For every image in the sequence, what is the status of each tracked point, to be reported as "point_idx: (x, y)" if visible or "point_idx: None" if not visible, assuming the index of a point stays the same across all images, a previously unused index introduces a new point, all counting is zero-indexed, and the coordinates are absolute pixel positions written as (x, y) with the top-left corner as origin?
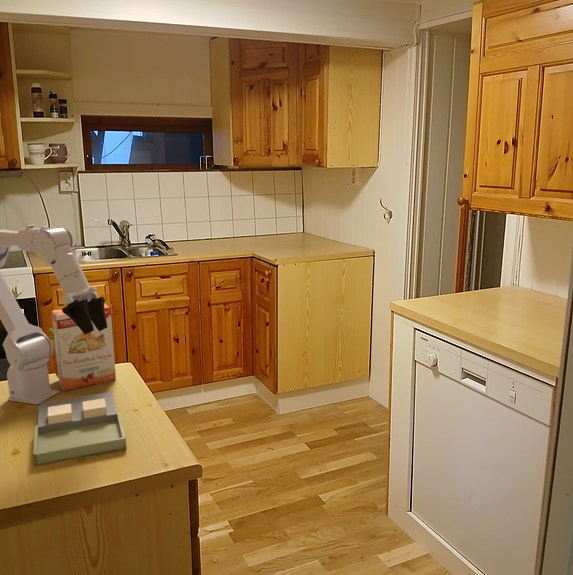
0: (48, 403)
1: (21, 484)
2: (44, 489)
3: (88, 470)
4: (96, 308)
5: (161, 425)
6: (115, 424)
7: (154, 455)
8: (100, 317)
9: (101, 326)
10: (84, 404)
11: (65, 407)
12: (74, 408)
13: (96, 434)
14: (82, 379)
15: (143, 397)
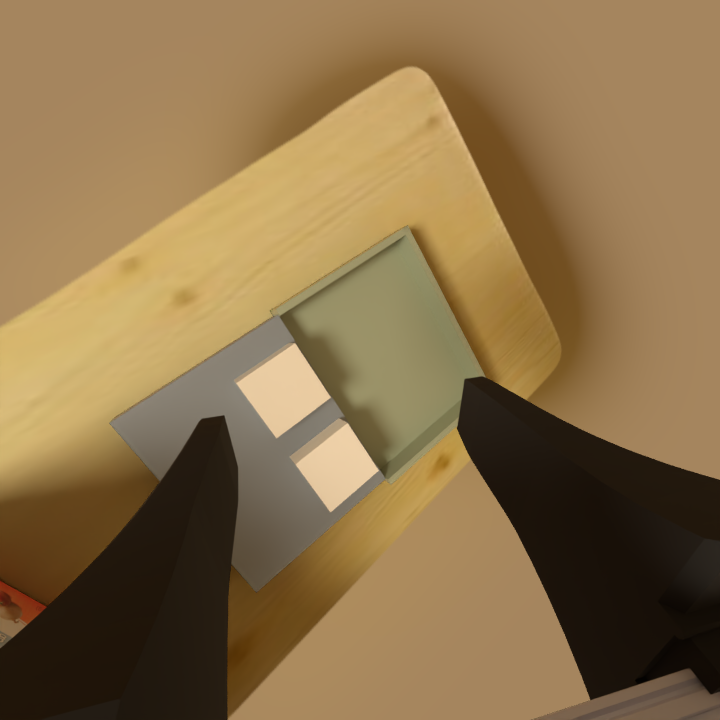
0: (253, 563)
1: (521, 372)
2: (527, 324)
3: (472, 277)
4: (195, 623)
5: (267, 181)
6: (297, 310)
7: (406, 157)
8: (208, 511)
9: (230, 461)
10: (293, 418)
11: (323, 461)
12: (270, 462)
13: (355, 333)
14: (16, 612)
15: (68, 314)
